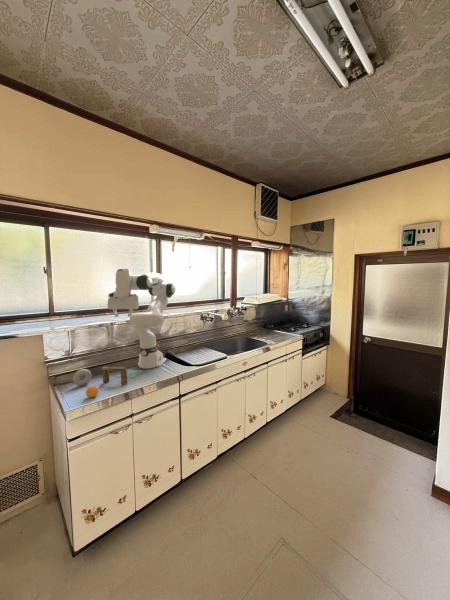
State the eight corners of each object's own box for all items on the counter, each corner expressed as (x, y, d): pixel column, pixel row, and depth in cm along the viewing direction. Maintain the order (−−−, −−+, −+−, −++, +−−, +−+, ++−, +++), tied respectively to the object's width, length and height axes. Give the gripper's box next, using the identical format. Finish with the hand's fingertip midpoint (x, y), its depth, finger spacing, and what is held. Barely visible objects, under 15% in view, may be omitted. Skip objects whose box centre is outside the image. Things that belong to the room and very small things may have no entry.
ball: (92, 393, 135) (91, 383, 135) (101, 394, 134) (100, 384, 133) (83, 399, 129) (82, 388, 129) (93, 400, 128) (92, 389, 127)
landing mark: (128, 369, 171) (128, 369, 171) (144, 370, 168) (144, 370, 168) (115, 377, 159) (115, 376, 159) (133, 378, 155) (133, 377, 155)
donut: (74, 388, 143) (73, 372, 142) (72, 387, 145) (71, 371, 144) (92, 383, 150) (91, 367, 149) (91, 381, 152) (89, 366, 151)
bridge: (106, 381, 152) (105, 366, 151) (127, 382, 148) (126, 367, 148) (103, 383, 149) (101, 367, 148) (124, 385, 146) (123, 369, 145)
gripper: (140, 294, 152) (140, 316, 152) (112, 295, 157) (112, 316, 157) (134, 293, 146) (134, 316, 146) (105, 294, 151) (105, 316, 151)
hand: (123, 316), depth 151 cm, fingers open, 8 cm apart
